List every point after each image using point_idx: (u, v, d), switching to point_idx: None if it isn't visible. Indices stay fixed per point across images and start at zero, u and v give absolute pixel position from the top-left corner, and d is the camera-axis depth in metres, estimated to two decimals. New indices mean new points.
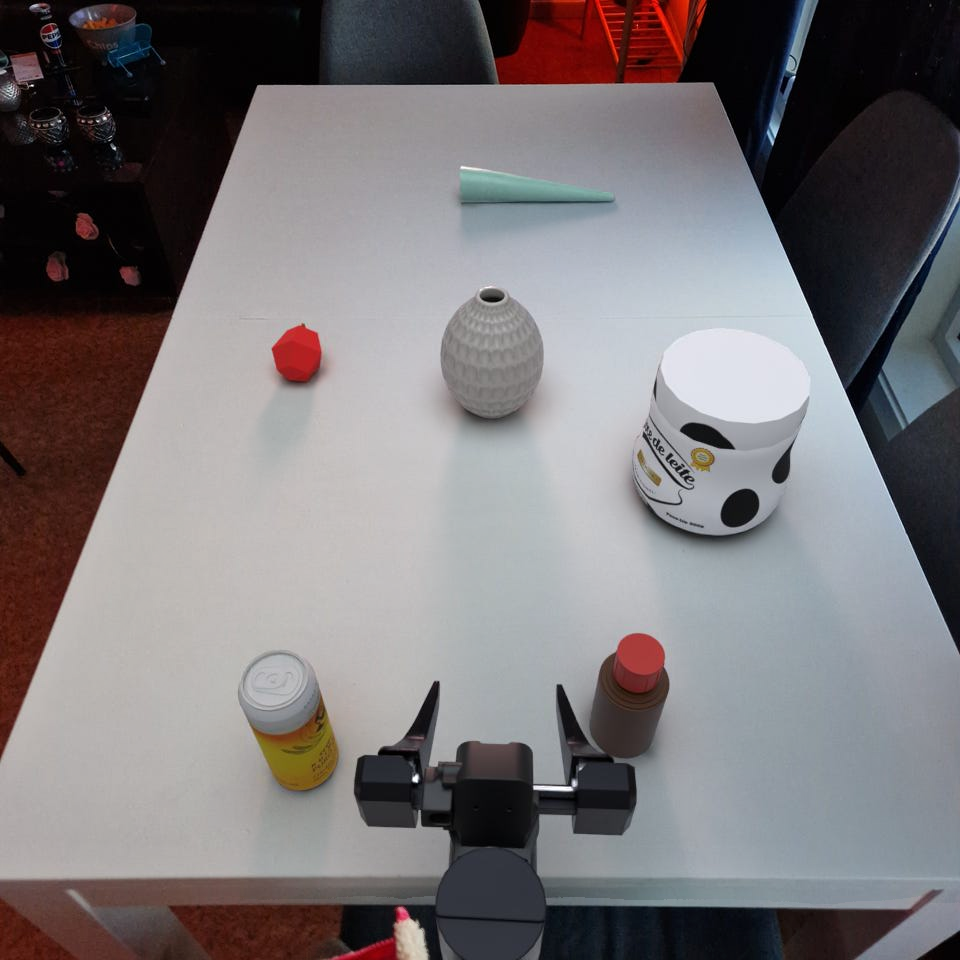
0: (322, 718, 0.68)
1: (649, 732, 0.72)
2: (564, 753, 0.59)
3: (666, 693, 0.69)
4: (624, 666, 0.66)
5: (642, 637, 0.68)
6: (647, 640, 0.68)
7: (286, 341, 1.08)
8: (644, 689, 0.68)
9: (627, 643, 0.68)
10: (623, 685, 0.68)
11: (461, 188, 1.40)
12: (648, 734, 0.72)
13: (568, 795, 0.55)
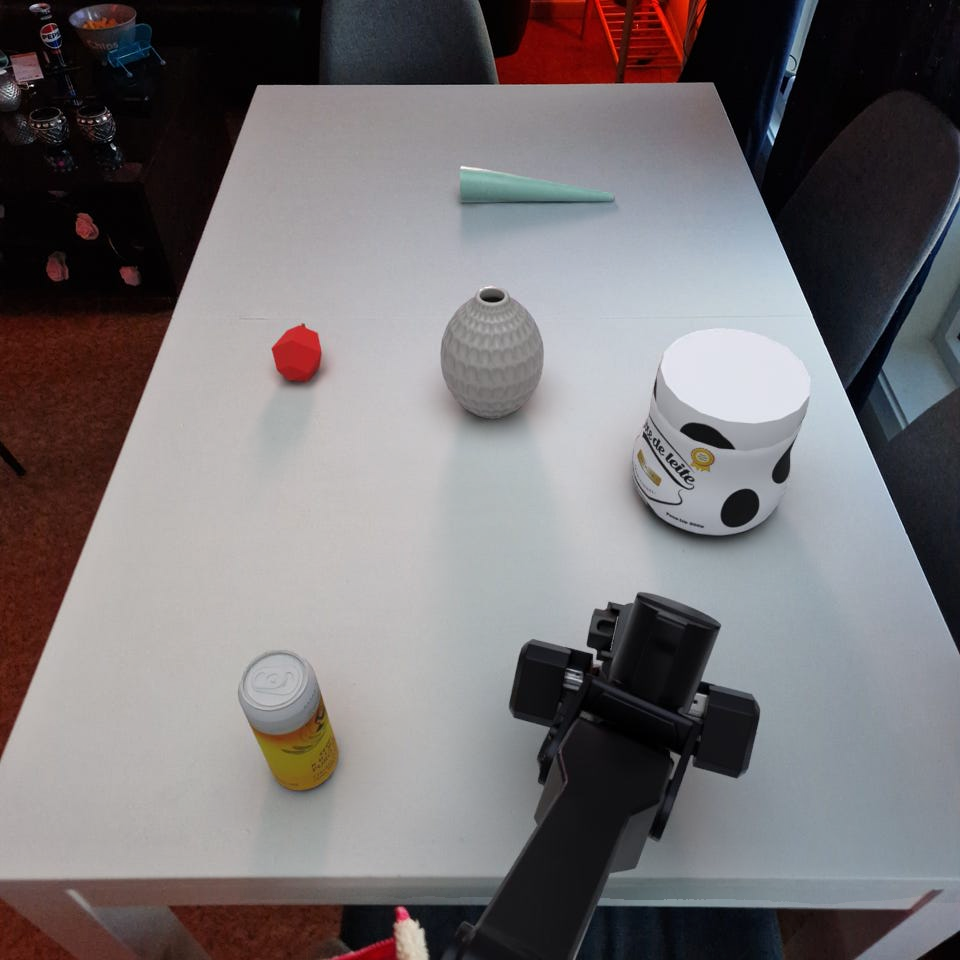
0: (322, 718, 0.68)
1: None
2: None
3: None
4: None
5: None
6: None
7: (286, 341, 1.08)
8: None
9: None
10: None
11: (461, 188, 1.40)
12: None
13: (697, 711, 0.63)
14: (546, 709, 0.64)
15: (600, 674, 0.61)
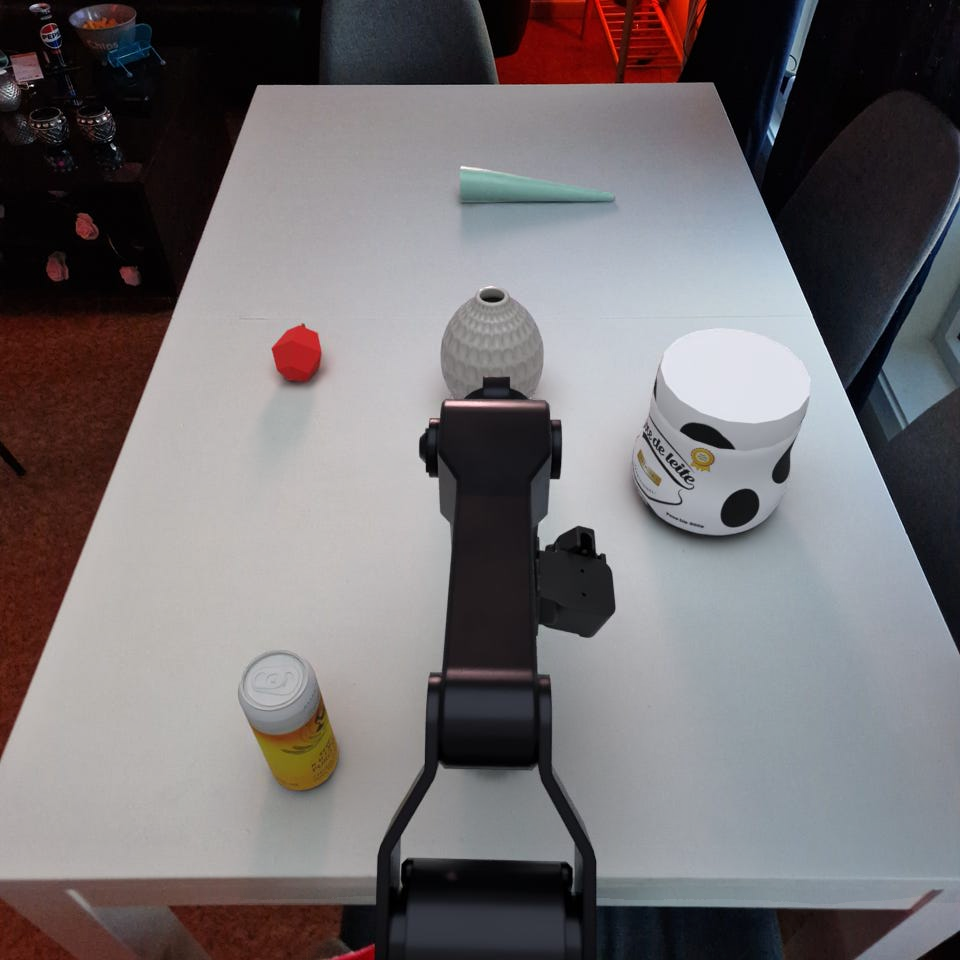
0: (322, 718, 0.68)
1: None
2: None
3: None
4: None
5: None
6: None
7: (286, 341, 1.08)
8: None
9: None
10: None
11: (461, 188, 1.40)
12: None
13: None
14: None
15: None
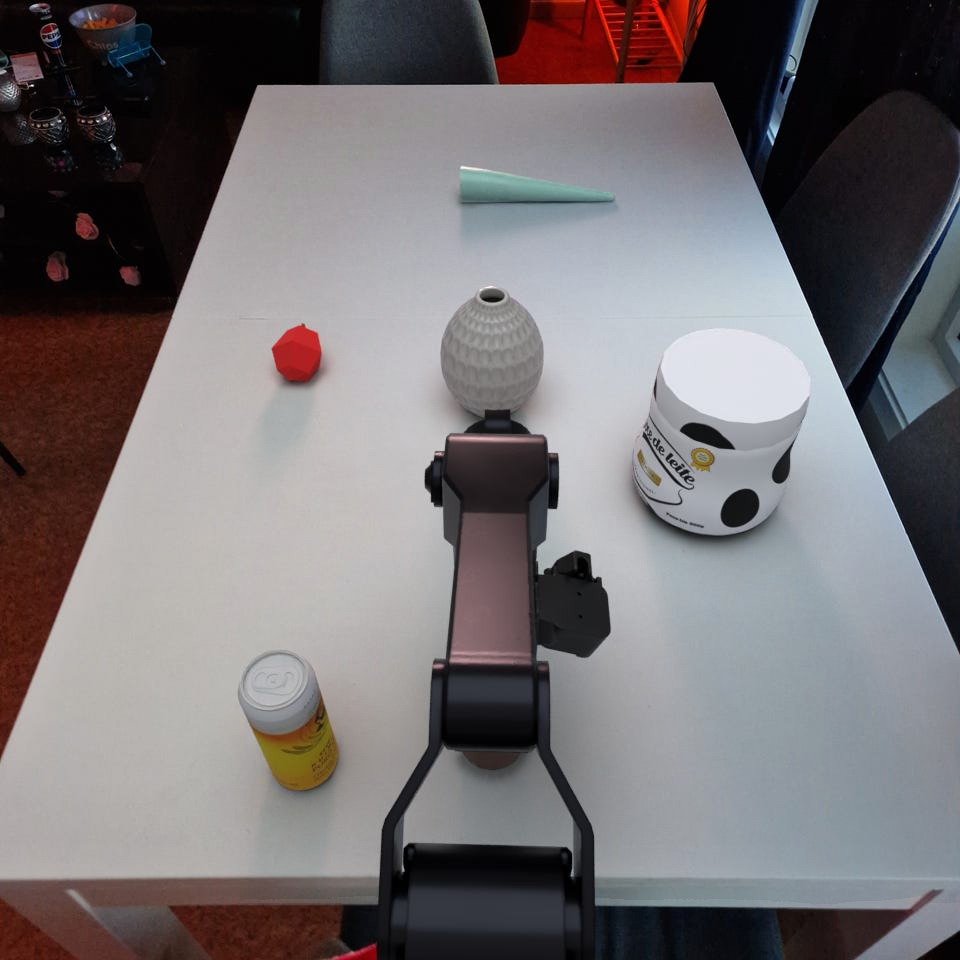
0: (322, 718, 0.68)
1: None
2: None
3: None
4: None
5: None
6: None
7: (286, 341, 1.08)
8: None
9: None
10: None
11: (461, 188, 1.40)
12: None
13: None
14: None
15: None
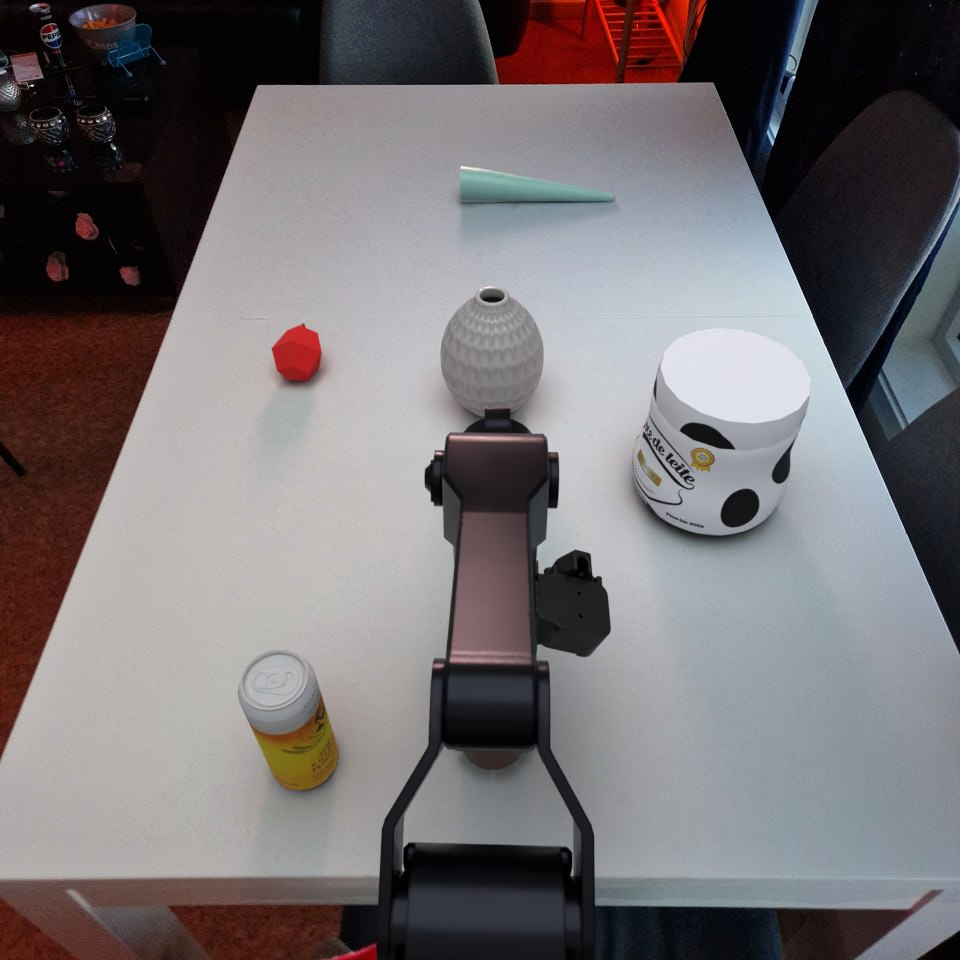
0: (322, 718, 0.68)
1: None
2: None
3: None
4: None
5: None
6: None
7: (286, 341, 1.08)
8: None
9: None
10: None
11: (461, 188, 1.40)
12: None
13: None
14: None
15: None
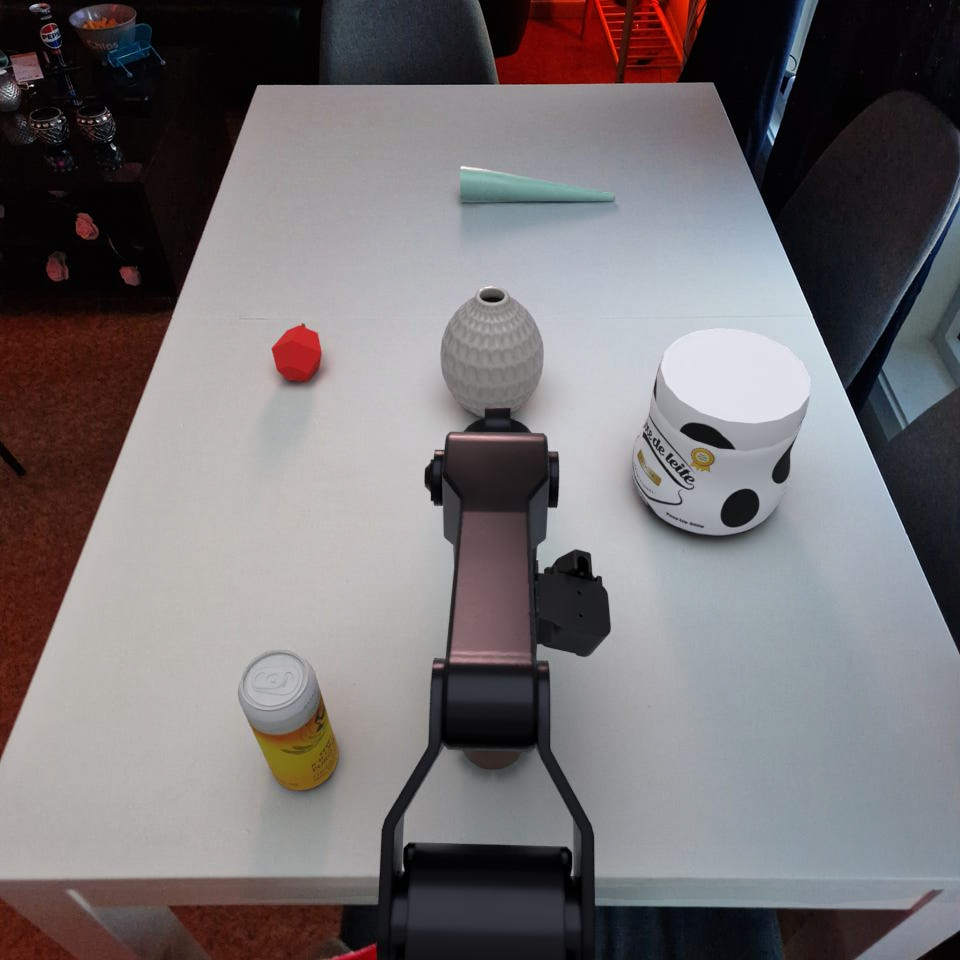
0: (322, 718, 0.68)
1: None
2: None
3: None
4: None
5: None
6: None
7: (286, 341, 1.08)
8: None
9: None
10: None
11: (461, 188, 1.40)
12: None
13: None
14: None
15: None
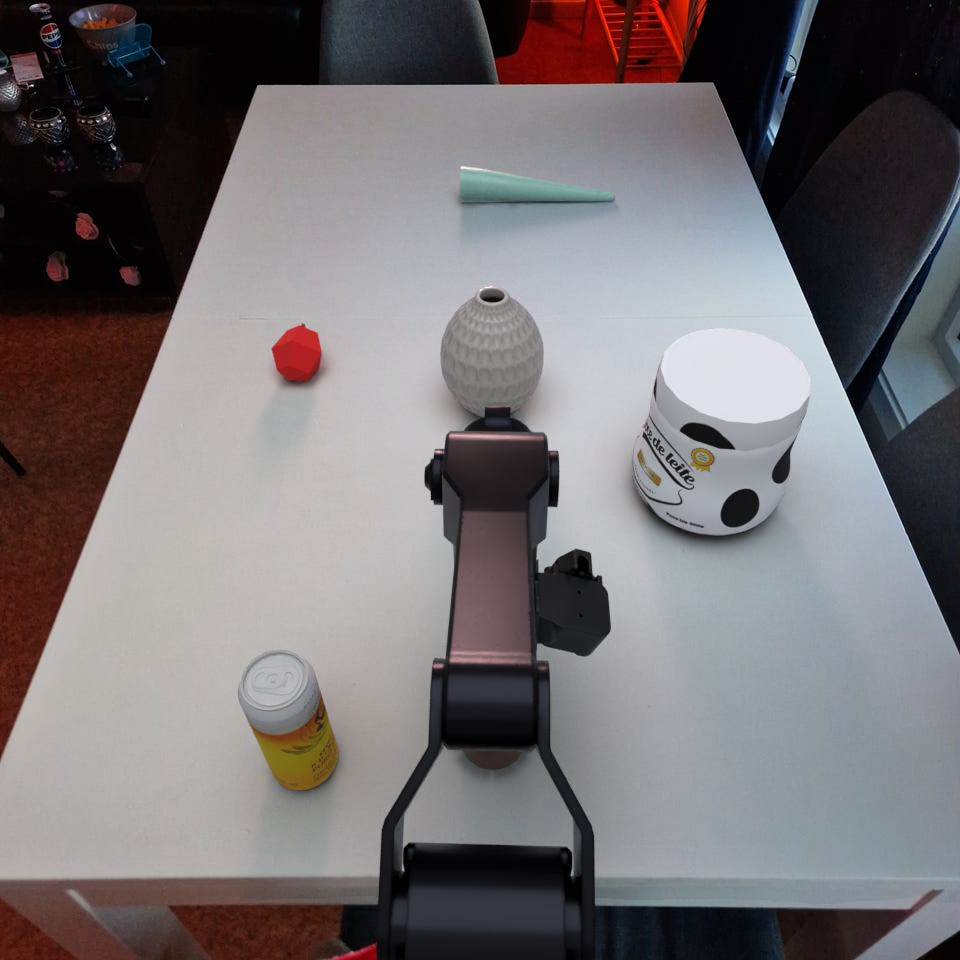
0: (322, 718, 0.68)
1: None
2: None
3: None
4: None
5: None
6: None
7: (286, 341, 1.08)
8: None
9: None
10: None
11: (461, 188, 1.40)
12: None
13: None
14: None
15: None
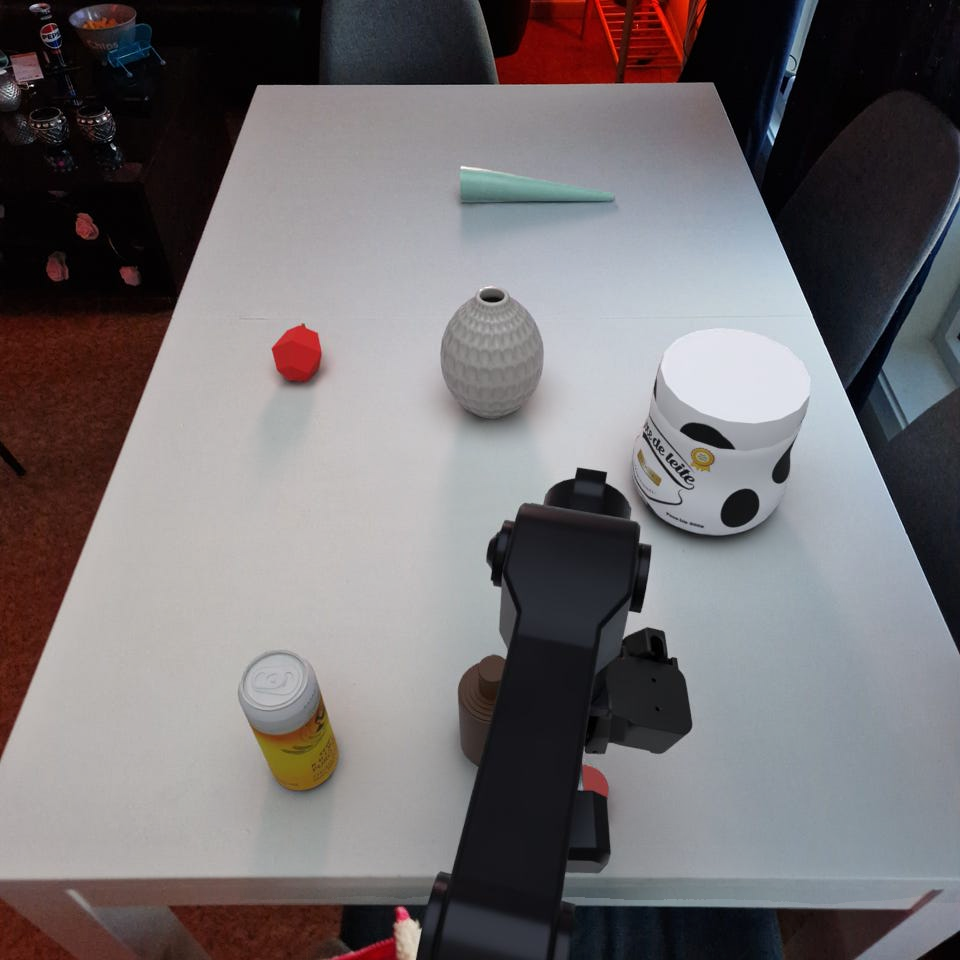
0: (322, 718, 0.68)
1: None
2: None
3: None
4: None
5: (597, 775, 0.71)
6: (599, 780, 0.70)
7: (286, 341, 1.08)
8: None
9: None
10: None
11: (461, 188, 1.40)
12: None
13: None
14: None
15: None
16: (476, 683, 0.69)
